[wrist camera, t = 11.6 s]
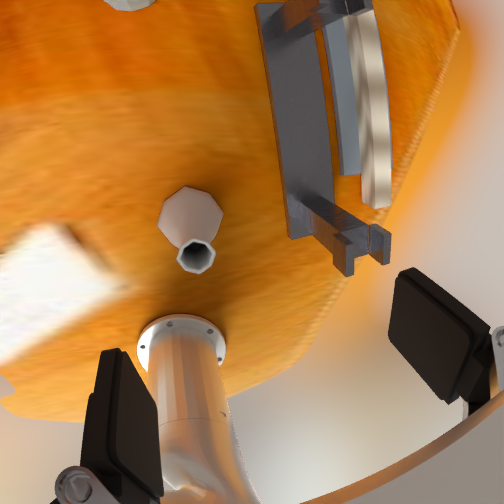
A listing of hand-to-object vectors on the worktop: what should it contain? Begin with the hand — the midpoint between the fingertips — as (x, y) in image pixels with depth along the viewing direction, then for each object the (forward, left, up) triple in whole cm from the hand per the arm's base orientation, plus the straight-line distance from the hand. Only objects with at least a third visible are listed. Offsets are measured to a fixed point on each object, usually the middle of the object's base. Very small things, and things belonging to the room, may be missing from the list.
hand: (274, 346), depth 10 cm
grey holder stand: (+5, -12, -26) cm, 29 cm away
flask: (-4, +2, -26) cm, 27 cm away
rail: (+8, -20, -25) cm, 33 cm away
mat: (+8, -20, -26) cm, 34 cm away
